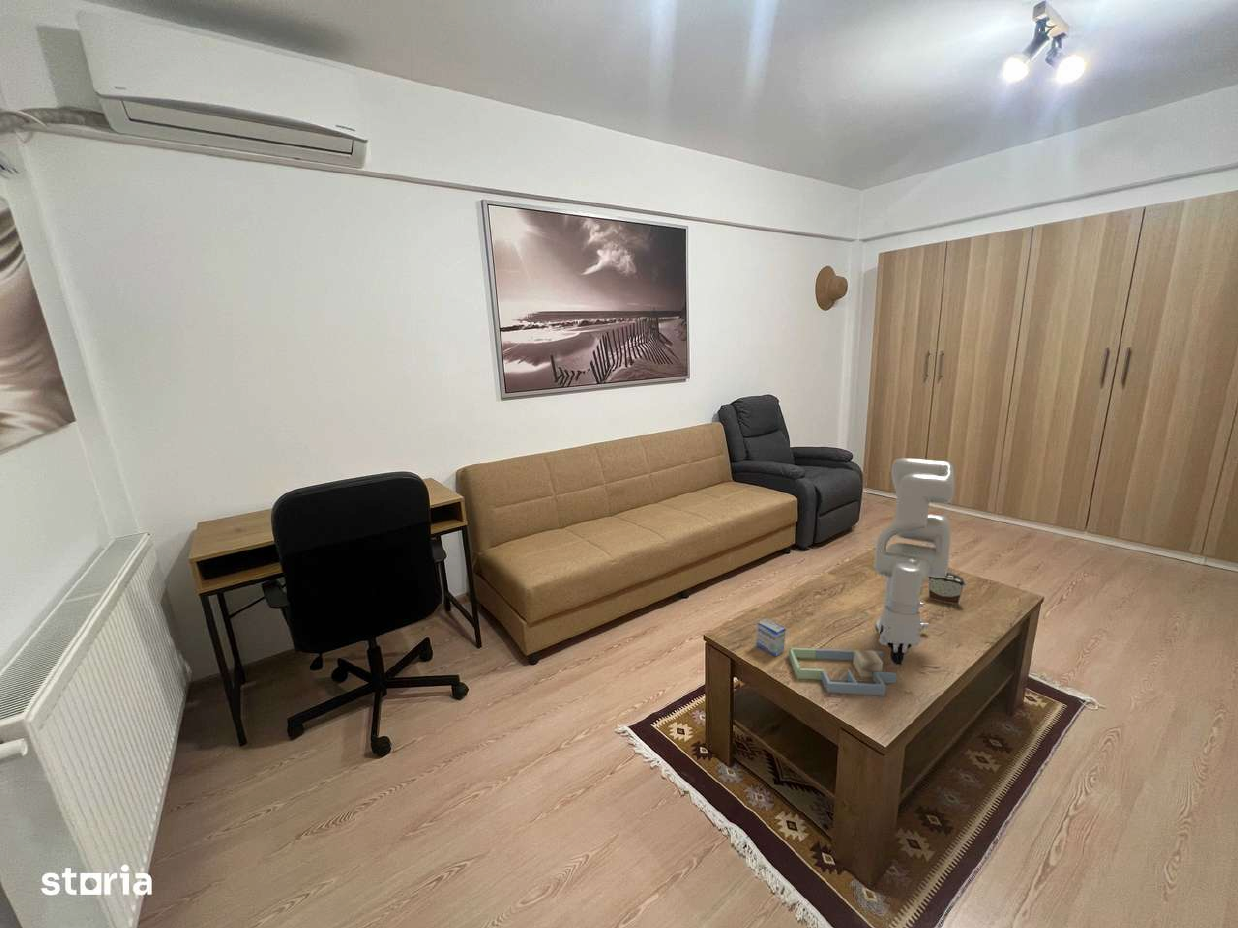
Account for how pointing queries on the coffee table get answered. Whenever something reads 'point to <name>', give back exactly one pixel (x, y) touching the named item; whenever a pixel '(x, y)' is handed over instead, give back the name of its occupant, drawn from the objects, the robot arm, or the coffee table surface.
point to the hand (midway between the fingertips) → (896, 661)
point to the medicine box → (770, 637)
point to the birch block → (867, 662)
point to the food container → (946, 588)
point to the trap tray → (850, 684)
